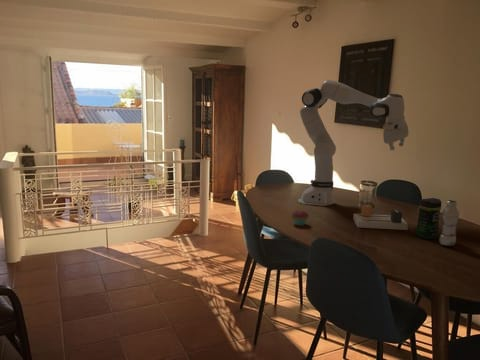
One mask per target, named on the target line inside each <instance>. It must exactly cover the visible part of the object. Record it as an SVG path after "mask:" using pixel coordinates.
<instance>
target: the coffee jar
mask: <svg viewBox="0 0 480 360" xmlns="http://www.w3.org/2000/svg"><path fill="white" fill-rule="evenodd" d="M441 209H442V201H441V199H440V198H439V199H438V198H436V197H429V198H422V199H420V200H419V203H418V219H417V225H416V230H415V236H416V237H418V238H419V239H425V240H433V239H437V238H439V225H440V224H439V223H440V222H439V220H440V213H441Z"/></svg>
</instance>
